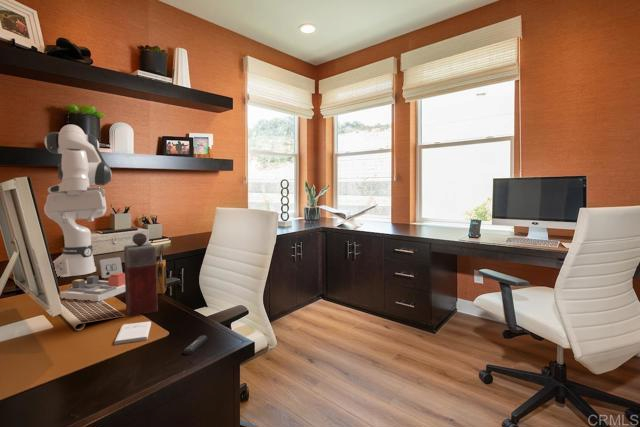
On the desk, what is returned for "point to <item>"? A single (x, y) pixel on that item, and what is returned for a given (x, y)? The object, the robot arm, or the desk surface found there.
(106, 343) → the desk surface
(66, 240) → the robot arm
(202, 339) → the usb stick
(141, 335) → the external hard drive
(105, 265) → the electrical switch
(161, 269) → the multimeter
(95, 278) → the plain toggle
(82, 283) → the tagged toggle
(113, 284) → the lockout cap
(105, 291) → the panel
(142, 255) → the decanter
